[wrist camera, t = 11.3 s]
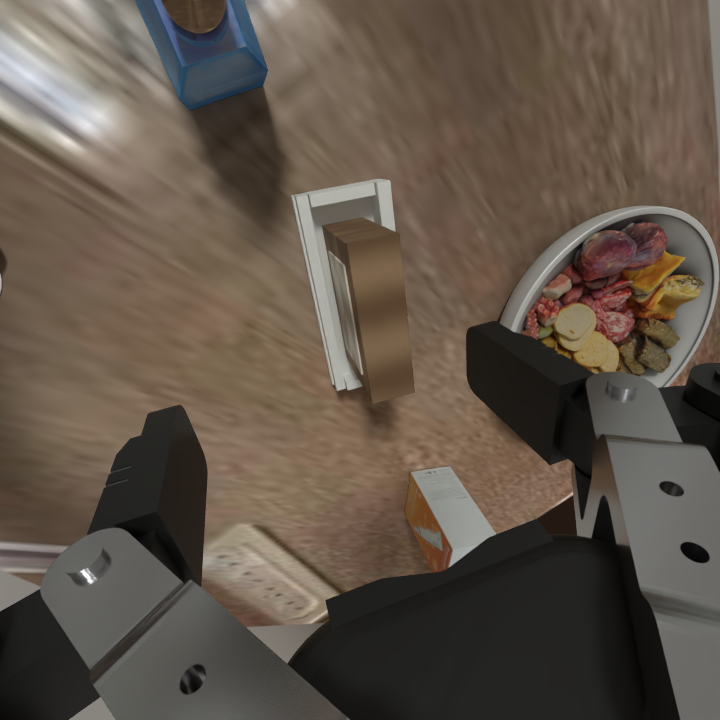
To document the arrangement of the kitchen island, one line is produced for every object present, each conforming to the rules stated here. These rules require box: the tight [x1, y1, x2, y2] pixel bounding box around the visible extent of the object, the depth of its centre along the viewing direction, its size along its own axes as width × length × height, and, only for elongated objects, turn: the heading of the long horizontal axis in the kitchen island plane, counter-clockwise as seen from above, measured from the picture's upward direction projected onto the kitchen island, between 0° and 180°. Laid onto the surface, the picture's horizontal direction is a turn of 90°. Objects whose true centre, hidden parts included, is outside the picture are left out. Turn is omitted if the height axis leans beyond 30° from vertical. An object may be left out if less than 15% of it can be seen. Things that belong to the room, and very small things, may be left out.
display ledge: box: [291, 179, 395, 391], centre depth 40 cm, size 8×20×4 cm, turn 9°
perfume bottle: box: [135, 0, 268, 110], centre depth 25 cm, size 6×6×12 cm
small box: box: [405, 466, 496, 573], centre depth 52 cm, size 8×6×13 cm
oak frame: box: [322, 217, 415, 404], centre depth 36 cm, size 14×4×10 cm, turn 9°
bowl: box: [499, 206, 719, 388], centre depth 49 cm, size 30×30×8 cm
